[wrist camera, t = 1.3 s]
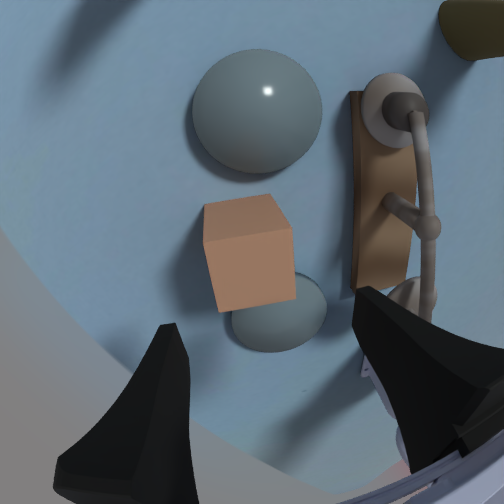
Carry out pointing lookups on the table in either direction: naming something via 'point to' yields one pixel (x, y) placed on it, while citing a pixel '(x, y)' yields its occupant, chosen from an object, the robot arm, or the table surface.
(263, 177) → the table surface
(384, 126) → the balance
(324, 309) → the smooth grey pebble
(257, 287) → the block
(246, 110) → the grey dome
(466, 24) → the cork
